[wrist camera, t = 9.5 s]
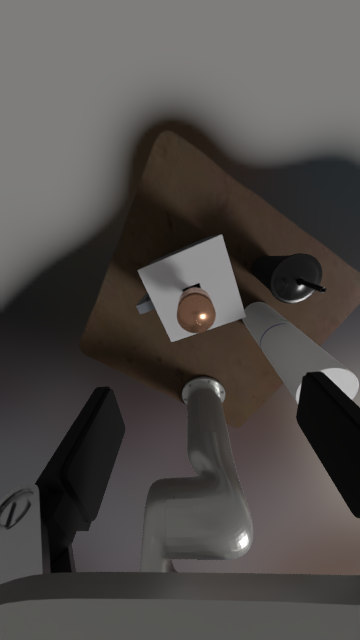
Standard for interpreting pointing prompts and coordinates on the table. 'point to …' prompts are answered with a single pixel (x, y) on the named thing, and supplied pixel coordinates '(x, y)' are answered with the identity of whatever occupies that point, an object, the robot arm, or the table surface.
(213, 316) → the copper piston
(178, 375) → the table surface
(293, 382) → the cylindrical container
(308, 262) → the drinking cup
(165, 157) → the table surface
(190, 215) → the table surface
